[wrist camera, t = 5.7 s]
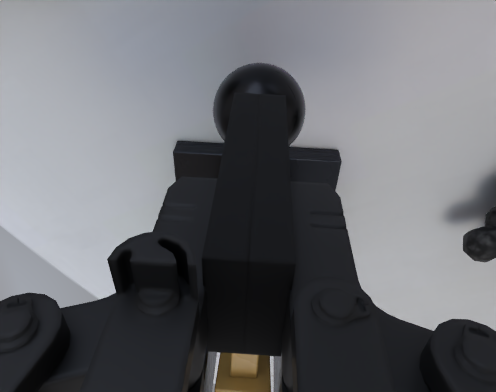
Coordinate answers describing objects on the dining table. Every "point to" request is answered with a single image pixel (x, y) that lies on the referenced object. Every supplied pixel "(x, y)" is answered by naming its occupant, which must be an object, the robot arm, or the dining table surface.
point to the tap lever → (282, 83)
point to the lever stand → (207, 166)
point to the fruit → (482, 240)
